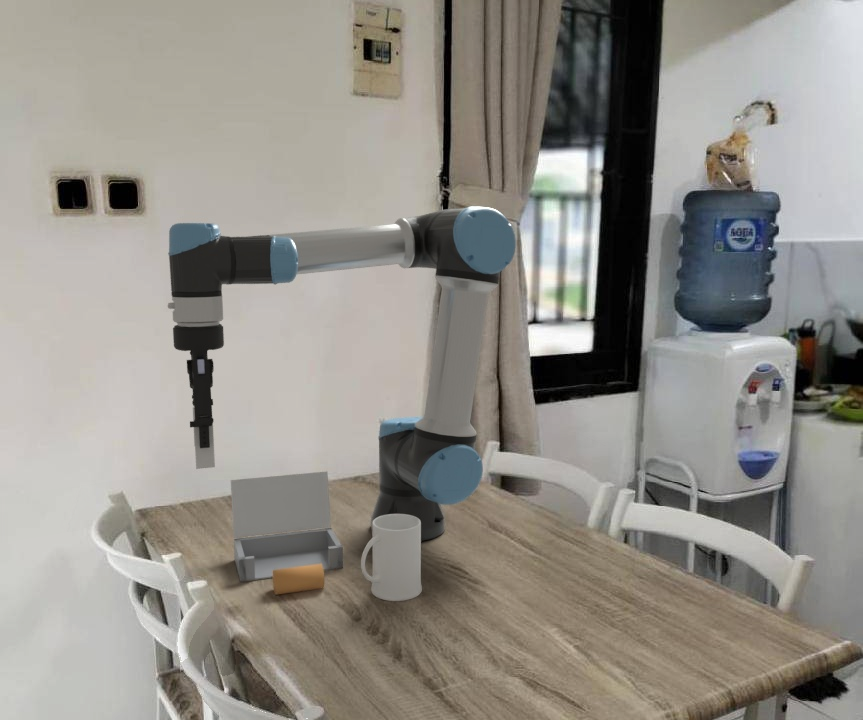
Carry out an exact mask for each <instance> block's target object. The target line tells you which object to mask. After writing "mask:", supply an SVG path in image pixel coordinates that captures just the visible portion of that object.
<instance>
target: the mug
mask: <svg viewBox="0 0 863 720" xmlns="http://www.w3.org/2000/svg"><path fill="white" fill-rule="evenodd" d="M371 532H372V534H371V535H372V537H371V538H370V540H369V541H368V542H367V544H366V546H365V547H364V549H363V552H362V554H361V559H360V569H361V573H362V575H363V576H364V578H365V579H366V580H367V581H369V582H371V583H372V584H371V588H370V592H371V594H372V595H373V596H374V597H376V598H377V599H380V600H384V601H386V602H387V601H388V602H402V601H409V600H413V599H415V598H417V597H418V596H420V594H421V593H422V590H423V586H422V579H421V578H422V576H421V575H422V574H421V571H422V569H421V567H422V565H421V564H422V563H421V562H422V561H421V560H422V549H421V548H422V543H421V542H422V541H421V521H420V519H419V518H417V517H415V516H412V515H407V514H388V515H383V516H379V517H377V518H375V519H374V520H373V522H372V531H371ZM371 548H372V576H371V575H370V574H369V573H368V572H367V569H366V559H367V555H368V553H369V551H370V549H371Z"/></svg>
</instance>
